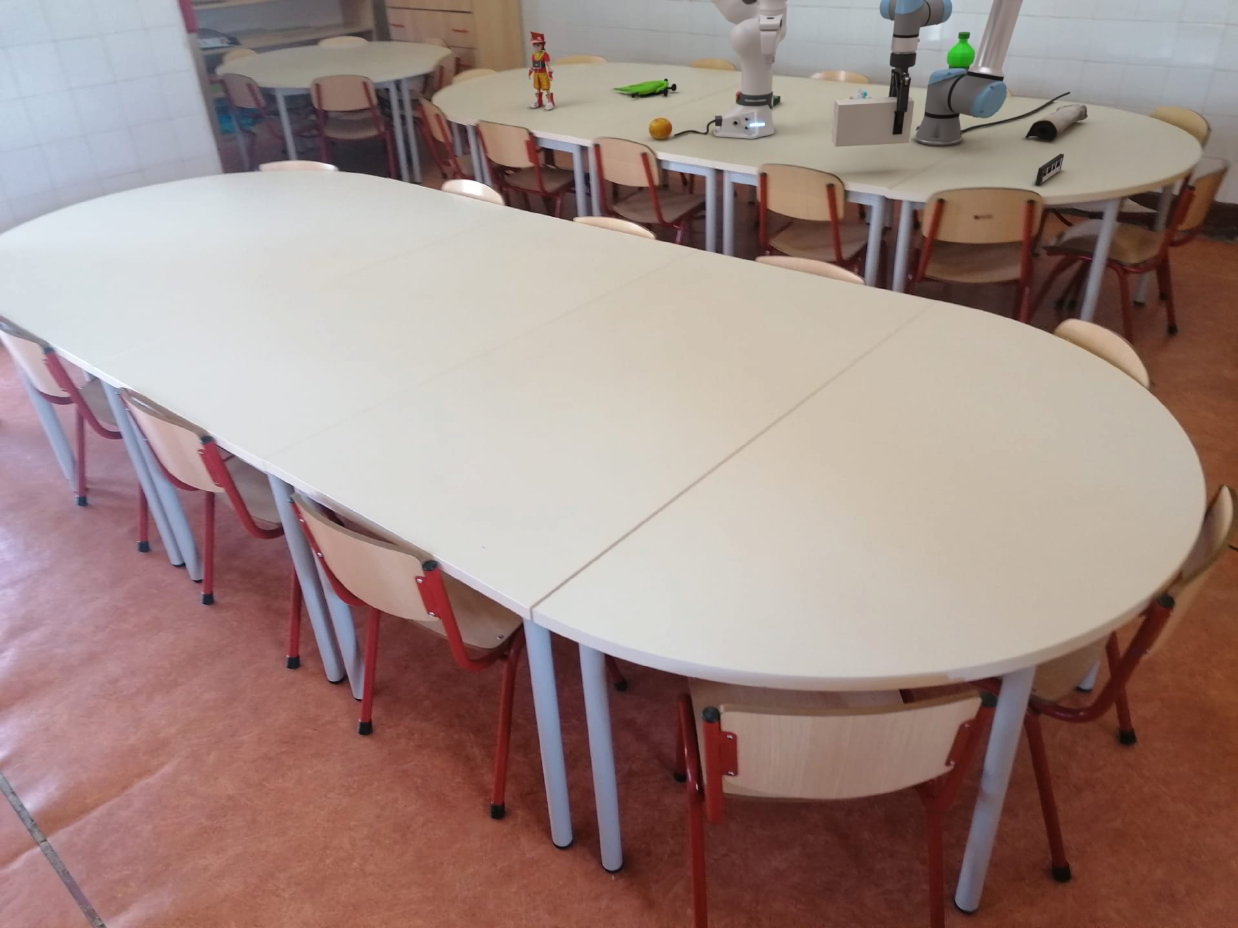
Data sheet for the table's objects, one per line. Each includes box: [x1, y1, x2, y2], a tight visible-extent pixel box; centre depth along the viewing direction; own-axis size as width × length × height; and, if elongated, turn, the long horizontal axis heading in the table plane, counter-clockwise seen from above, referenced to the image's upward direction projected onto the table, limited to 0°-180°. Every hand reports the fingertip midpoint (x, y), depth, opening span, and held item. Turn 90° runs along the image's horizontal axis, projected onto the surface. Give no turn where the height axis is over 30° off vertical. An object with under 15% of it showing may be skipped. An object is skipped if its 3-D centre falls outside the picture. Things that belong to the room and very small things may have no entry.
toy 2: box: [612, 78, 677, 99], centre depth 396 cm, size 28×5×30 cm
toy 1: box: [527, 31, 556, 111], centre depth 374 cm, size 12×9×30 cm
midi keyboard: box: [1035, 153, 1065, 186], centre depth 273 cm, size 18×1×5 cm, turn 138°
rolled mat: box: [1024, 103, 1089, 142], centre depth 314 cm, size 30×9×10 cm
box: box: [831, 96, 915, 148], centre depth 280 cm, size 23×6×12 cm, turn 90°
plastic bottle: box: [946, 31, 976, 75], centre depth 348 cm, size 10×10×25 cm
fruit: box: [648, 117, 673, 140], centre depth 332 cm, size 8×8×8 cm
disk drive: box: [772, 94, 781, 107], centre depth 365 cm, size 10×3×15 cm
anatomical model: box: [850, 88, 872, 99], centre depth 343 cm, size 15×10×10 cm
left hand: (770, 66), depth 289 cm, fingers open, 8 cm apart
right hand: (894, 131), depth 281 cm, fingers closed on box, 6 cm apart
